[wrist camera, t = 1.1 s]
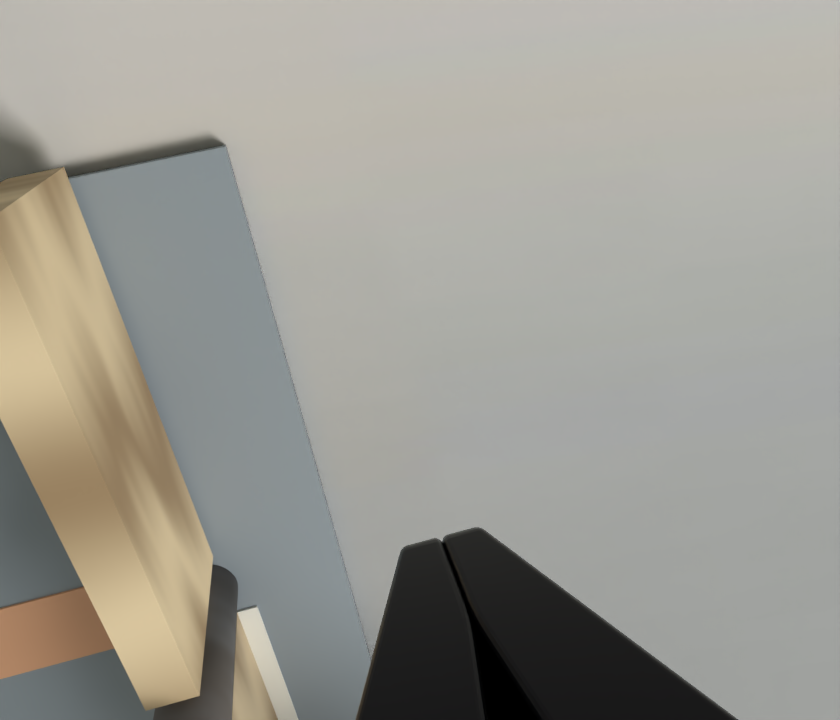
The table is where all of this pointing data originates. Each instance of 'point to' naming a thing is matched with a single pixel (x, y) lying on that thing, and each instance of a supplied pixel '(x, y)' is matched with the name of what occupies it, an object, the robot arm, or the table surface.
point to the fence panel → (98, 441)
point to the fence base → (224, 665)
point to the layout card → (190, 462)
